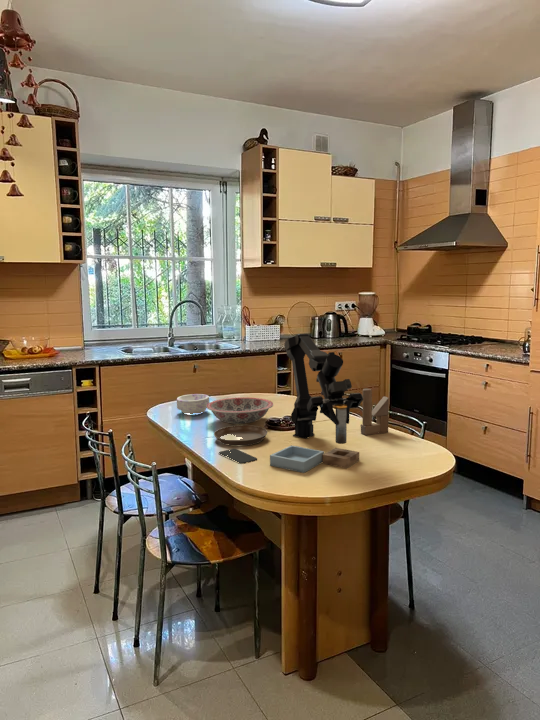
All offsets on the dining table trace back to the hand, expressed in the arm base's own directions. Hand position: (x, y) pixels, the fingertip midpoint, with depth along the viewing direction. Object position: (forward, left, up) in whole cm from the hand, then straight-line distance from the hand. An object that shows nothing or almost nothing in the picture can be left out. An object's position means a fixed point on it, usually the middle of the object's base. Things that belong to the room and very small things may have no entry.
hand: (342, 423), depth 174 cm
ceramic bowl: (-63, +25, -14) cm, 69 cm away
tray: (-13, -8, -13) cm, 20 cm away
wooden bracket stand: (-6, +39, -14) cm, 42 cm away
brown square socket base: (-1, +1, -13) cm, 13 cm away
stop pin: (-1, +1, -7) cm, 7 cm away
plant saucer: (-46, +4, -14) cm, 48 cm away
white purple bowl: (-92, +26, -14) cm, 97 cm away
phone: (-34, -13, -14) cm, 39 cm away
